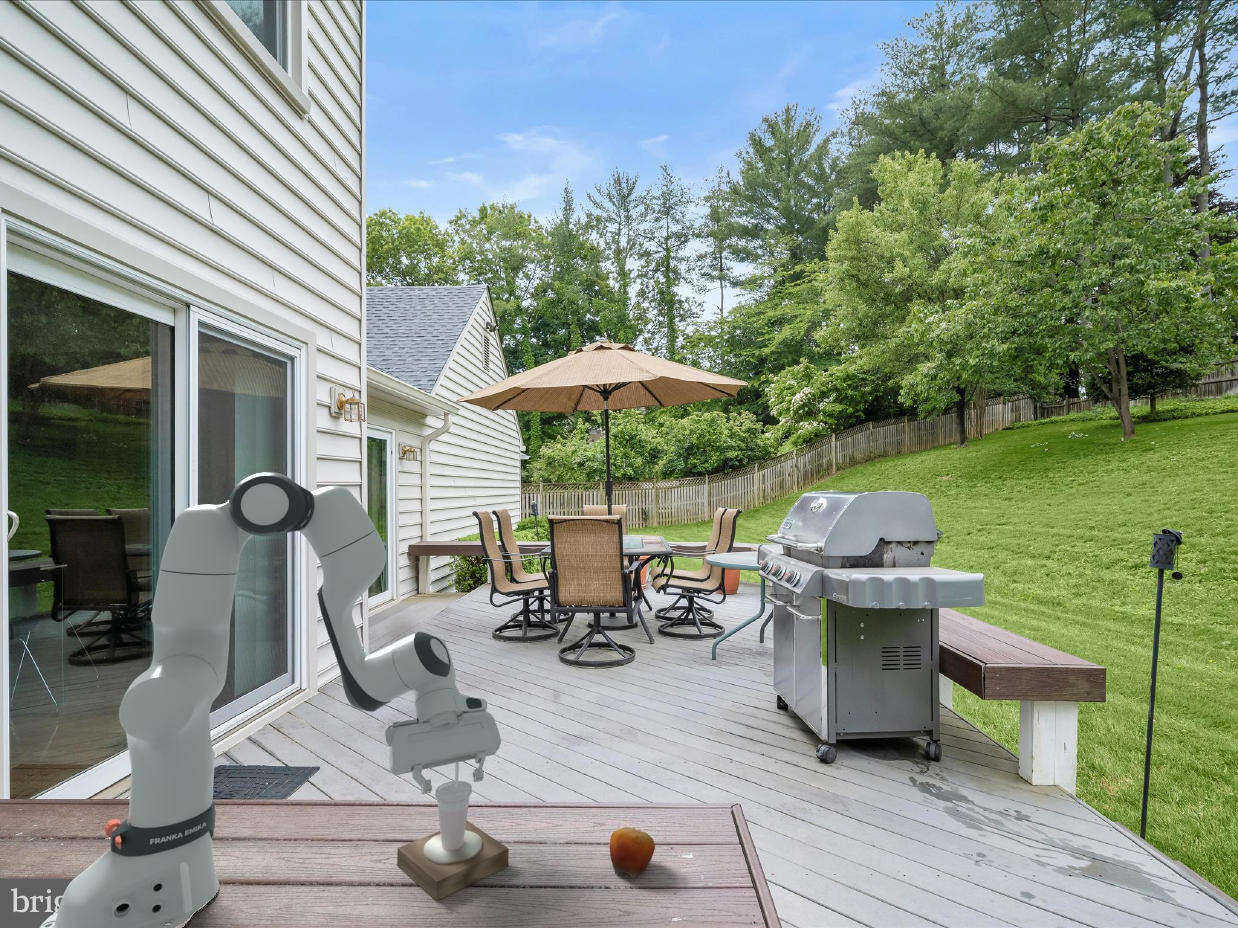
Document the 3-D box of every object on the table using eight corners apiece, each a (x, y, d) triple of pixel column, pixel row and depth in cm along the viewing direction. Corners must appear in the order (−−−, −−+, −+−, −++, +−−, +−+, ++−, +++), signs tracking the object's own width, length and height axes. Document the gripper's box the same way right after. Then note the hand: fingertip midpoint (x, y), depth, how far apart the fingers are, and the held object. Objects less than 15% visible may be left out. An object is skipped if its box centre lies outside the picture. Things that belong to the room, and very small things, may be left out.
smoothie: (461, 855, 106) (462, 771, 107) (427, 851, 107) (429, 768, 108) (476, 836, 112) (478, 757, 113) (444, 833, 113) (446, 754, 115)
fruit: (597, 873, 105) (606, 820, 109) (611, 876, 111) (619, 826, 115) (642, 883, 102) (650, 829, 106) (654, 886, 108) (661, 834, 112)
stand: (436, 900, 99) (436, 877, 100) (397, 865, 109) (397, 844, 110) (508, 865, 109) (508, 844, 110) (466, 836, 119) (466, 816, 119)
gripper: (386, 715, 112) (396, 791, 103) (493, 698, 123) (511, 765, 114) (380, 732, 116) (390, 808, 107) (485, 714, 126) (501, 781, 117)
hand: (453, 786), depth 110 cm, fingers open, 8 cm apart
